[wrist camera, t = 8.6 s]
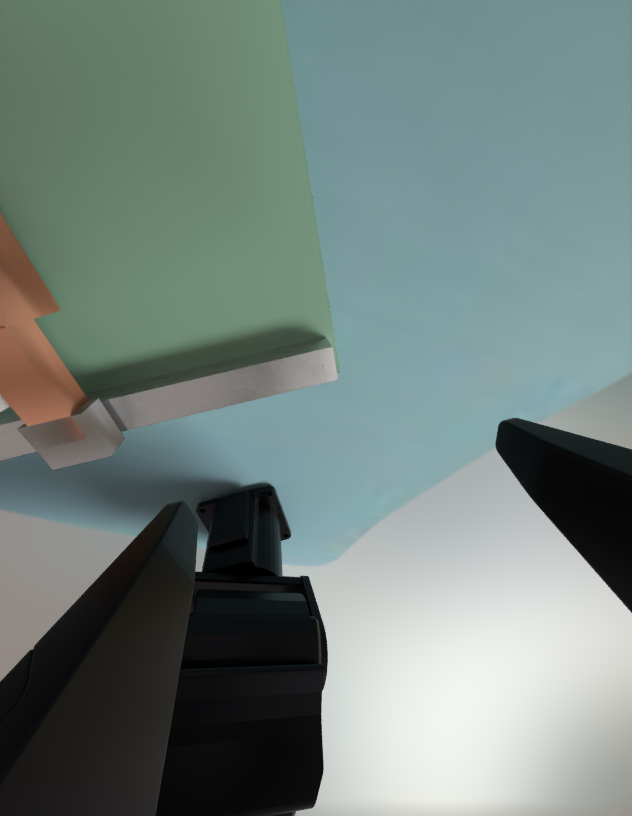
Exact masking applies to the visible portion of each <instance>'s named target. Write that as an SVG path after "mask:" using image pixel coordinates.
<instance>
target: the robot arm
mask: <svg viewBox="0 0 632 816" xmlns="http://www.w3.org/2000/svg"><path fill="white" fill-rule="evenodd" d="M496 449H497V451H498V453H499V454H500V456H501V457H502V459H503V460H504V461H505V463H506V464H507V465H508V467H509V468H510V469H511V471H512V473H513V474H514V475H515V477H516V478H517V479H518V481H519V482H520V484H521V485H522V486H523V488H524V489H525V491H526V492H527V493H528V494H529V496H530V497H531V498H532V499H533V501H534V502H535V503H536V504H537V505H538V506H539V508H540V509H541V510H542V511H543V512H544V513H545V515H546V516H547V517H548V518H549V519H550V520H551V521H552V522H553V524H554V525H555V526H556V527H557V528H558V529H559V531H560V532H561V533H562V534H563V535H564V536H565V537H566V538H567V540H568V541H569V542H570V543H571V544H572V545H573V546H574V548H575V549H577V551H578V552H579V553H580V554H581V556H582V557H583V558H584V559H585V560H586V561H587V562H588V564H589V565H590V566H591V567H592V568H593V569H594V570H595V572H596V573H597V574H598V575H599V576H600V577H601V578H602V580H603V581H604V582H605V583H606V584H607V585H608V586H609V587H610V589H611V590H612V591H613V592H614V593H615V594H616V595H617V597H618V598H619V599H620V600H621V601H622V602H623V603H624V604H625V606H626V607H627V608H628V609H629V610H630V611H631V613H632V450H631V449H628V448H624V447H621V446H617V445H613V444H610V443H606V442H603V441H599V440H595V439H591V438H587V437H584V436H581V435H577V434H573V433H570V432H566V431H563V430H559V429H555V428H551V427H548V426H544V425H541V424H537V423H533V422H530V421H526V420H522V419H519V418H512V419H508V420H504V421H501V422H500V424H499V426H498V432H497V438H496ZM268 492H270V493H268ZM196 512H197V514H198V515H199V517H200V519H201V520H202V522H203V524H204V525H205V527H206V529H207V530H208V532H209V535H208V540H207V548H206V553H205V558H204V563H203V567H202V572H195V565H196V550H197V534H198V524H197V520H196V518H195V516H194V515H193V513H192V511H191V510H190V508H189V507H188V505H187V503H186V502H185V501H177V502H173V503H170V504H167V505H166V506H165V507H164V508H163V509H162V510H161V511H160V512H159V514H158V515H157V516H156V517H155V518H154V519H153V520H152V521H151V522H150V523H149V524H148V525H147V526H146V527H145V528H144V530H143V531H142V532H141V533H140V534H139V535H138V536H137V537H136V538H135V539H134V540H133V541H132V542H131V544H129V545H128V547H127V548H126V549H125V550H124V551H123V552H122V553H121V554H120V555H119V556H118V557H117V558H116V559H115V560H114V561H113V563H112V564H111V565H110V566H109V567H108V568H107V569H106V570H105V571H104V572H103V573H102V574H101V575H100V577H98V579H97V580H96V581H95V582H94V583H93V584H92V585H91V586H90V587H89V588H88V589H87V590H86V591H85V592H84V593H83V594H82V596H81V597H80V598H79V599H78V600H77V601H76V602H75V603H74V604H73V605H72V606H71V607H70V608H69V610H67V612H66V613H65V614H64V615H63V616H62V617H61V618H60V619H59V620H58V621H57V622H56V623H55V624H54V625H53V626H52V627H51V629H50V630H49V631H48V632H47V633H46V634H45V635H44V636H43V637H42V638H41V639H40V640H39V641H38V642H37V644H36V645H35V646H34V649H33V650H30V651H29V652H28V653H27V654H26V655H25V656H24V657H23V658H22V659H21V660H20V661H19V663H18V664H17V665H16V666H15V667H14V668H13V669H12V670H11V671H10V672H9V673H8V674H7V675H6V676H5V677H4V678H3V679H2V680H1V681H0V816H294V815H295V813H296V811H299V810H304V809H310V808H313V807H314V805H315V803H316V800H317V795H318V791H319V788H320V784H321V779H322V775H323V749H322V725H321V701H322V690H323V688H324V685H325V681H326V675H327V663H328V658H327V657H328V652H327V640H326V633H325V629H324V625H323V622H322V619H321V615H320V612H319V609H318V605H317V602H316V599H315V596H314V593H313V589H312V586H311V583H310V580H309V577H308V576H300V577H286V576H282V555H281V541H282V540H286V539H289V538H290V537H291V531H290V528H289V525H288V523H287V520H286V517H285V514H284V512H283V509H282V506H281V504H280V501H279V498H278V496H277V493H276V490H275V488H274V487H272V486H266V487H262V488H258V489H254V490H250V491H246V492H242V493H238V494H234V495H230V496H226V497H222V498H218V499H214V500H210V501H206V502H202V503H200V504H198V506H197V509H196Z"/></svg>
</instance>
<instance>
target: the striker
mask: <svg viewBox="0 0 632 816" xmlns="http://www.w3.org/2000/svg"><path fill="white" fill-rule="evenodd" d="M57 311H61V309H60V308H59V306H58V304H57V303H56V301H55V300H54V298H53V296H52V295H51V293H50V292H49V290H48V288H47V287H46V285H45V284H44V282H43V280H42V279H41V277H40V275H39V274H38V272H37V271H36V269H35V267H34V266H33V264H32V263H31V261H30V259H29V258H28V256H27V255H26V253H25V251H24V250H23V248H22V247H21V245H20V243H19V242H18V240H17V239H16V237H15V235H14V234H13V232H12V231H11V229H10V227H9V226H8V224H7V223H6V221H5V219H4V218H3V216H2V215H1V213H0V395H1V396H2V397H3V398H4V399H5V401H6V402H7V403H8V404H9V405H10V406H11V408H12V409H13V410H14V411H15V412H16V413H17V415H18V416H19V417H20V418H21V419H22V421H23V422H24V424H23V425H21V426H20V427H19V428H17V430H18V431H19V432H20V433H21V434H22V436H23V437H24V438H25V439H26V440H27V441H28V442H29V443H30V445H31V446H32V447H33V448H34V449H35V450H36V451H37V453H38V454H39V455H40V456H41V457H42V458H43V459H44V460H45V462H46V463H47V464H48V465H49V466H50V467H51V468H52V470H56V469H60V468H64V467H68V466H72V465H76V464H80V463H84V462H89V461H93V460H97V459H101V458H105V457H109V456H112V455H113V453H114V452H115V451H116V449H117V448H118V447H119V445H120V444H121V443H122V441H123V440H124V439H125V437H124V436H123V434H122V433H121V431H120V430H119V428H118V427H117V425H116V424H115V422H114V421H113V419H112V418H111V416H110V415H109V413H108V412H107V410H106V409H105V407H104V406H103V404H102V403H101V401H100V400H99V398H97V399H93V400H88V398H87V397H86V395H85V394H84V393H83V391H82V390H81V388H80V387H79V385H78V384H77V382H76V381H75V379H74V378H73V376H72V375H71V374H70V372H69V371H68V369H67V368H66V366H65V365H64V363H63V362H62V360H61V359H60V357H59V356H58V354H57V353H56V352H55V350H54V349H53V347H52V346H51V344H50V343H49V341H48V340H47V338H46V337H45V335H44V334H43V333H42V331H41V330H40V328H39V327H38V325H37V324H36V322H35V321H34V319H35V318H38V317H41V316H44V315H48V314H51V313H54V312H57Z"/></svg>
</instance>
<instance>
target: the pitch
mask: <svg viewBox="0 0 632 816" xmlns="http://www.w3.org/2000/svg"><path fill="white" fill-rule="evenodd" d="M0 213H1V215H2V216H3V218H4V219H5V221H6V223H7V224H8V226H9V227H10V229H11V231H12V232H13V234H14V235H15V237H16V239H17V240H18V242H19V243H20V245H21V247H22V248H23V250H24V251H25V253H26V255H27V256H28V258H29V259H30V261H31V263H32V264H33V266H34V267H35V269H36V271H37V272H38V274H39V275H40V277H41V279H42V280H43V282H44V284H45V285H46V287H47V288H48V290H49V292H50V293H51V295H52V296H53V298H54V300H55V301H56V303H57V304H58V306H59V308H60V309H61V311H57V312H54V313H51V314H48V315H44V316H41V317H38V318H35V319H34V321H35V322H36V324H37V325H38V327H39V328H40V330H41V331H42V333H43V334H44V335H45V337H46V338H47V340H48V341H49V343H50V344H51V346H52V347H53V349H54V350H55V352H56V353H57V354H58V356H59V357H60V359H61V360H62V362H63V363H64V365H65V366H66V368H67V369H68V371H69V372H70V374H71V375H72V376H73V378H74V379H75V381H76V382H77V384H78V385H79V387H80V388H81V390H82V391H83V393H89V392H93V391H97V390H101V389H106V388H110V387H114V386H118V385H123V384H127V383H131V382H136V381H140V380H144V379H148V378H153V377H157V376H161V375H166V374H170V373H174V372H178V371H183V370H187V369H191V368H195V367H200V366H204V365H208V364H213V363H217V362H221V361H225V360H230V359H234V358H238V357H242V356H247V355H251V354H255V353H260V352H264V351H268V350H272V349H277V348H281V347H285V346H289V345H294V344H298V343H302V342H307V341H311V340H315V339H319V338H324V337H326V338H327V339H328V341H329V342H330V344H331V345H332V347H333V352H334V358H335V365H336V371H337V373H340V369H339V363H338V356H337V350H336V344H335V338H334V331H333V325H332V319H331V313H330V306H329V300H328V294H327V288H326V281H325V275H324V269H323V263H322V256H321V250H320V244H319V238H318V231H317V225H316V219H315V212H314V206H313V200H312V194H311V187H310V181H309V175H308V169H307V162H306V156H305V150H304V144H303V137H302V131H301V125H300V119H299V112H298V106H297V100H296V94H295V87H294V81H293V75H292V69H291V62H290V56H289V50H288V44H287V37H286V31H285V25H284V19H283V12H282V6H281V0H0ZM12 410H13V409H12V408H11V406H10V407H8V408H6V409H5V410H3V411H1V412H0V413H3V412H7V411H12Z"/></svg>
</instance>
